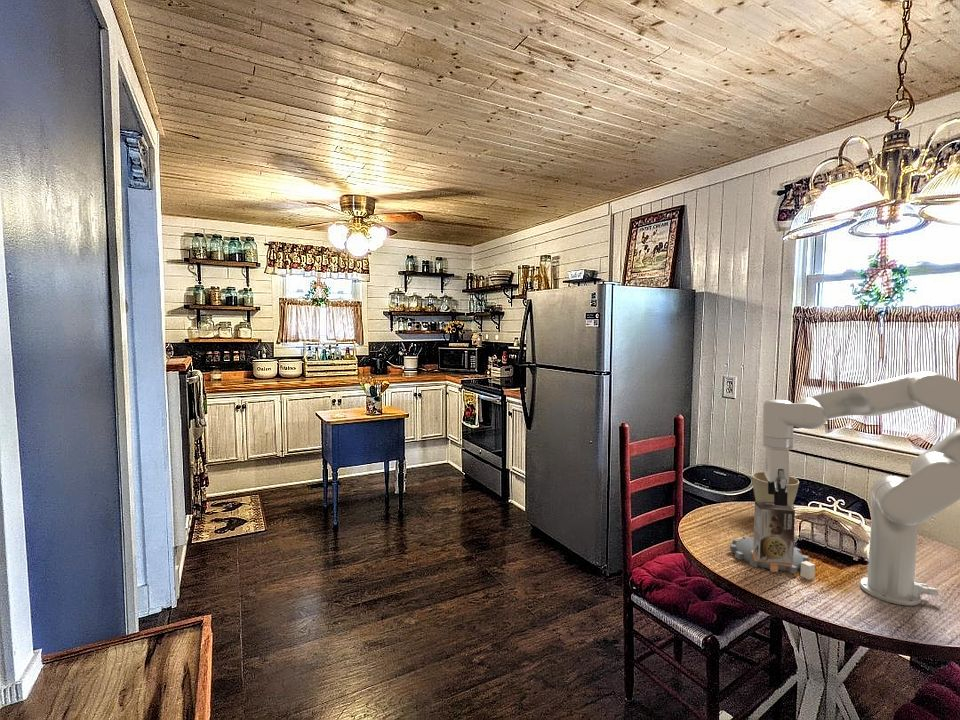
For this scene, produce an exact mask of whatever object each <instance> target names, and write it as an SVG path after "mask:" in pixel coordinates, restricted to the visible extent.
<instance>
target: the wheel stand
mask: <svg viewBox="0 0 960 720" xmlns="http://www.w3.org/2000/svg"><path fill="white" fill-rule="evenodd" d="M815 572H816V564H814V563H812V562H810V561H809V562H808V561H804V562H801V569H800V573H799V574H800V577H802V578H804V579H806V580H808V581H809V580H812V579H815Z"/></svg>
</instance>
